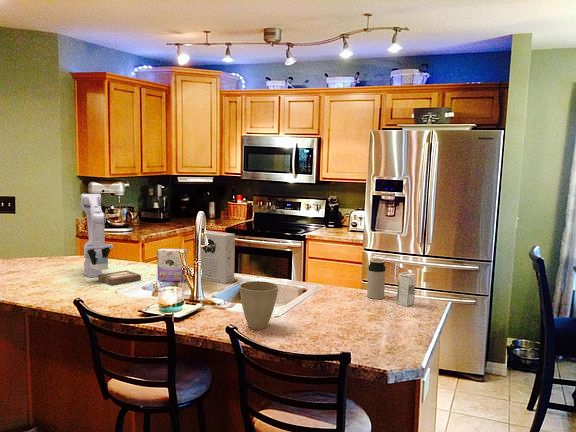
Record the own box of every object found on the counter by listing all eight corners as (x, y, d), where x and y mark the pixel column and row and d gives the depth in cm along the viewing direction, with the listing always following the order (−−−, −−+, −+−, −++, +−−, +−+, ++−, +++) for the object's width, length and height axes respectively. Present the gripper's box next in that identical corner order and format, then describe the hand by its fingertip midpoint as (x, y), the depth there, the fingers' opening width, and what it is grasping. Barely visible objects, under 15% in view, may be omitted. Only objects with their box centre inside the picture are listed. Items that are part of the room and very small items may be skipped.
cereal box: (234, 281, 267) (235, 233, 264) (225, 283, 260) (225, 235, 258) (203, 275, 278) (203, 229, 275) (193, 277, 272) (193, 231, 269)
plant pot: (246, 334, 187) (246, 292, 185) (233, 322, 200) (234, 282, 199) (283, 330, 193) (284, 289, 191) (269, 318, 206) (269, 279, 205)
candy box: (186, 279, 266) (186, 248, 265) (183, 282, 261) (183, 250, 259) (160, 278, 268) (160, 247, 266) (157, 281, 262) (156, 249, 260)
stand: (98, 280, 260) (98, 274, 259) (126, 275, 271) (126, 270, 271) (112, 285, 250) (111, 279, 250) (140, 280, 262) (140, 274, 262)
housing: (89, 267, 257) (89, 255, 257) (99, 266, 261) (99, 254, 260) (98, 270, 251) (98, 258, 251) (108, 269, 255) (107, 257, 254)
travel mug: (387, 297, 243) (389, 260, 241) (378, 300, 237) (379, 262, 235) (373, 294, 248) (374, 257, 246) (363, 297, 242) (365, 259, 240)
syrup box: (403, 301, 236) (405, 271, 234) (414, 304, 232) (416, 273, 230) (396, 304, 232) (398, 272, 230) (407, 307, 228) (409, 275, 226)
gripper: (88, 239, 246) (88, 267, 248) (116, 236, 257) (116, 263, 259) (81, 237, 251) (82, 264, 253) (109, 234, 262) (109, 260, 263)
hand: (98, 263), depth 256 cm, fingers closed on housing, 5 cm apart
